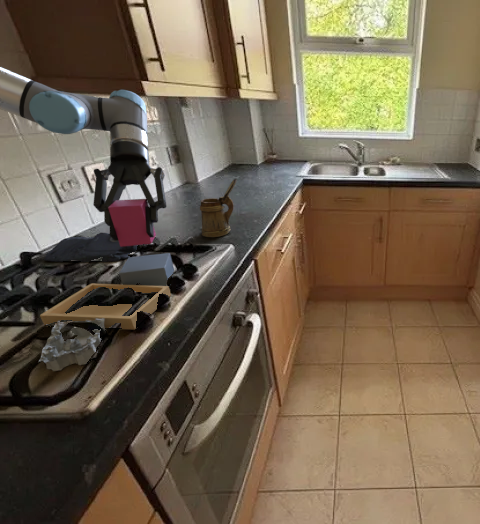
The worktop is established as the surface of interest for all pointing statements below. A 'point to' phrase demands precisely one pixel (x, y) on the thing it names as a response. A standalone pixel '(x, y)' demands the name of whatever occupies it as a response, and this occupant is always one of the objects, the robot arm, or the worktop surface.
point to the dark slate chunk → (89, 249)
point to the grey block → (147, 270)
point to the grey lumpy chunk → (70, 346)
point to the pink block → (130, 222)
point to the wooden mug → (217, 214)
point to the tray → (104, 307)
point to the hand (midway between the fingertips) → (132, 236)
